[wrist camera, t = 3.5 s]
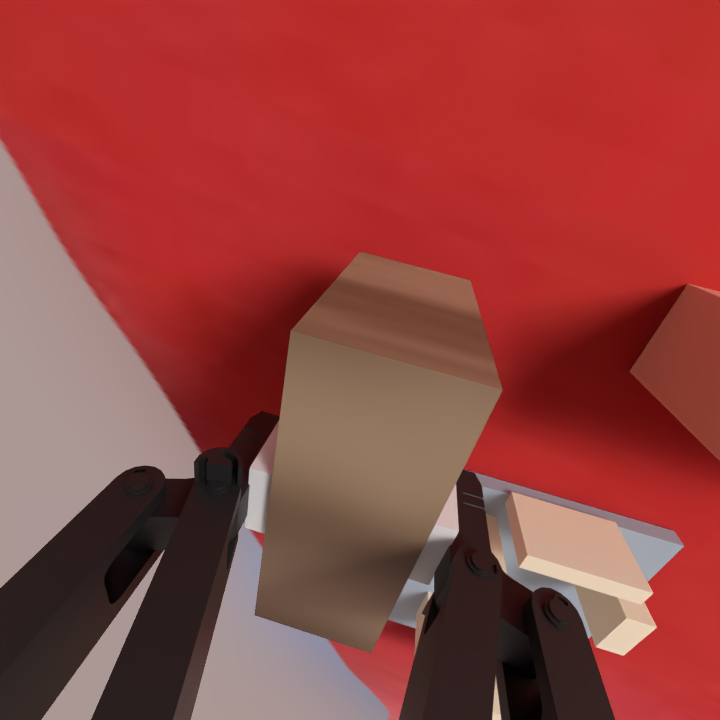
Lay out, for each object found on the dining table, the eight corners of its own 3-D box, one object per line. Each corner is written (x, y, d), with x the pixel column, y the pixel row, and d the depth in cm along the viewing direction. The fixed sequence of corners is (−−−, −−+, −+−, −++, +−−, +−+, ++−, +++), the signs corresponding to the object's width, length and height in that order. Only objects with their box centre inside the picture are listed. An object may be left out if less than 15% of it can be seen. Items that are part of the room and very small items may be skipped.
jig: (443, 459, 22) (446, 530, 18) (676, 528, 21) (740, 619, 17) (379, 605, 30) (370, 679, 26) (548, 659, 29) (568, 745, 25)
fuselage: (360, 251, 15) (290, 330, 8) (470, 280, 14) (502, 389, 7) (316, 462, 20) (254, 615, 14) (393, 485, 20) (370, 653, 13)
